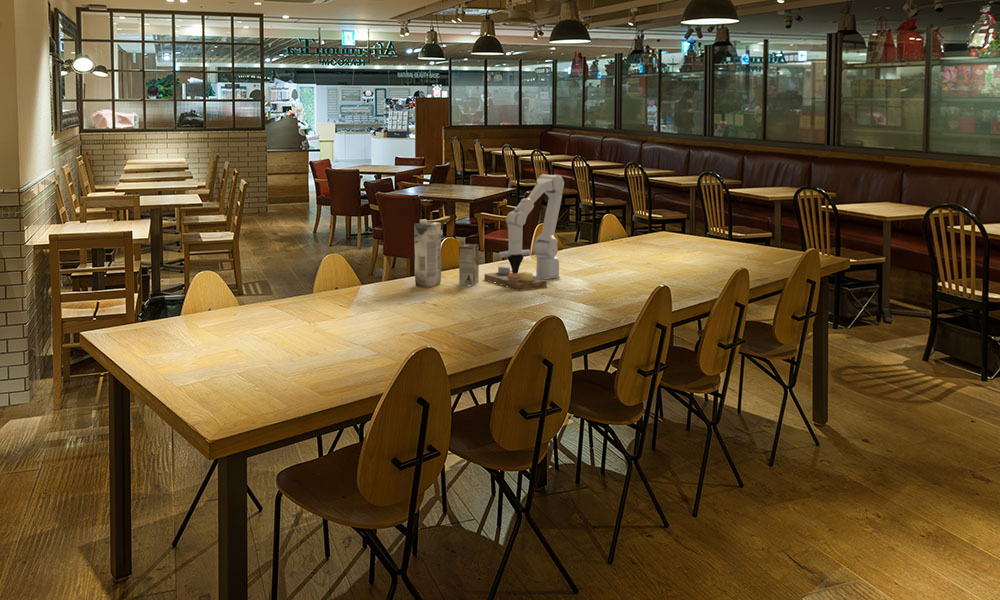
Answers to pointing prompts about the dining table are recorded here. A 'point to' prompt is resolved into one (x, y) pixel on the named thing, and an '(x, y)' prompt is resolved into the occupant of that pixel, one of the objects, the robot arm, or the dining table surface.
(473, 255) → the coffee box
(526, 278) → the button ochre
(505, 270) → the button blue
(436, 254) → the juice carton
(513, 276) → the button terracotta
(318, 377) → the dining table surface
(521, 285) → the board
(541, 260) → the robot arm
